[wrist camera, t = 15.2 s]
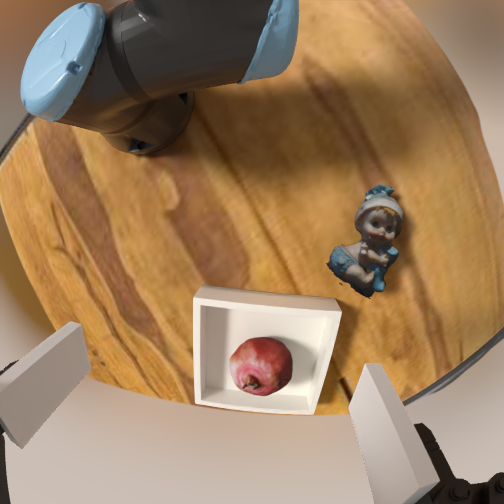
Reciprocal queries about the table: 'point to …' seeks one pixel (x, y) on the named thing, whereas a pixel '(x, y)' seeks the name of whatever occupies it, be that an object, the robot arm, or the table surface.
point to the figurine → (370, 243)
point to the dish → (262, 325)
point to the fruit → (261, 366)
